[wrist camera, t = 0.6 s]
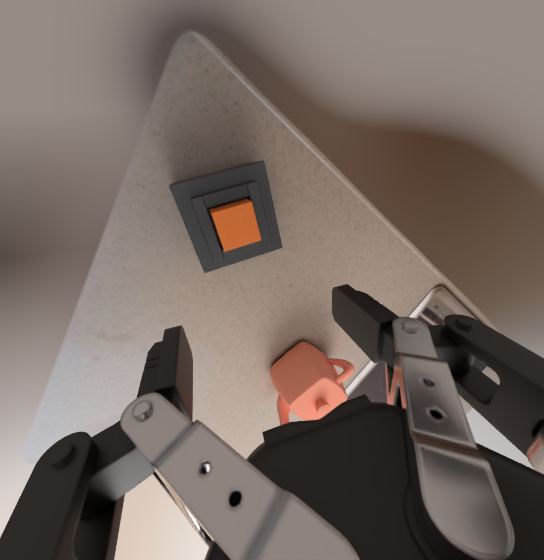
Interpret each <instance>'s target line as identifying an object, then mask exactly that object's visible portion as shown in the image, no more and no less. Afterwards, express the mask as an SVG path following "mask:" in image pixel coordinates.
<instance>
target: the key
mask: <svg viewBox="0 0 544 560" xmlns="http://www.w3.org/2000/svg"><path fill="white" fill-rule="evenodd" d="M210 211H211V214H212V217H213V220H214V223H215V226H216V229H217V232H218V235H219V238H220V241H221V243H222V246H223V249H224V251H225V252H226V251H229V250H232V249H235V248H238V247H241V246H245V245H248V244H251V243H254V242H257V241H260V240H261V236H260V232H259V228H258V224H257V220H256V216H255V212H254V208H253V205H252V202H251V201H250V200H248V199H245V200H241V201H238V202H234V203H231V204H227V205H224V206H220V207H217V208H213V209H210Z"/></svg>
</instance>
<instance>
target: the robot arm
mask: <svg viewBox="0 0 544 560" xmlns="http://www.w3.org/2000/svg"><path fill="white" fill-rule="evenodd" d="M332 314H333V317H334V320H335V321H336V322H337V323H338V325H339V326H340V327H341V328H342V329H343V330H344V331H345V332H346V333H347V334H348V335H349V336H350V338H351V339H352V340H353V341H354V342H355V343H356V344H357V345H358V346H359V347H360V348H361V349H362V350H363V352H364V353H365V354H366V355H367V356H368V357H369V358H370V359H371V360H372V361H373V362H374V363H377V362H380V361H383V360H384V361H385V362H386V367H385V371H386V387H387V403H380V402H370V400H369V399H368V398H367V396H366V395H365V394H364V395H362V396H359V397H356V398H354V399H351V400H348V401H345V402H343V403H341V404H340V405H338V406H337V407H336V408H334V409H333V410H332V411H330V412H329V413H328V414H326V415H325V416H324V417H322V418H321V419H318V420H308V421H297V422H289V423H286V424H283V425H281V426H278V427H275V428H273V429H270V430H267V431H265V432H263V437H264V442H263V443H262V444H261V445H259V446H258V447H257V448H256V449H255V450H254V451H253V452H252V453H251V454H250V456H249V457H248V458H247V460H246V459H245V458H244V457H242V456H241V455H240V454H239V453H238V452H236V451H235V450H234V449H233V448H232V447H230V446H229V445H228V444H227V443H226V442H225V441H223V440H222V439H221V438H220V437H219V436H217V435H216V434H215V433H214V432H213V431H211V430H210V429H209V428H208V427H207V426H206V425H204V424H203V423H202V422H200V421H198V420H196V421H195V422H192V411H193V358H192V352H191V349H190V346H189V343H188V340H187V337H186V334H185V332H184V329H183V327H182V325H181V326H177V327H173V328H169V329H165V331H164V336H163V341H161V342H157V343H155V344H154V345H153V346H152V348H151V349H150V350H149V352H148V355H147V359H146V363H145V367H144V371H143V375H142V379H141V383H140V387H139V391H138V395H137V399H135V400H134V401H133V402H131V403H130V404H129V405H128V406H127V408H126V409H125V410H124V412H123V413H122V416H121V419H120V421H118V422H117V423H115V424H114V425H112V426H110V427H109V428H107V429H105V430H104V431H102V432H100V433H98V434H97V435H95V436H93V437H90V435H89V434H88V433H86V432H76V433H73V434H70V435H68V436H66V437H64V438H62V439H61V440H59V441H58V442H56V443H55V444H54V445H52V446H51V447H50V448H49V449H48V450H47V451H46V452H45V453H44V454H43V455H42V457H41V458H40V459H39V461H38V462H37V464H36V465H35V467H34V469H33V471H32V474H31V476H30V478H29V480H28V482H27V484H26V486H25V488H24V490H23V492H22V494H21V496H20V498H19V500H18V502H17V505H16V507H15V509H14V511H13V513H12V515H11V517H10V519H9V521H8V523H7V525H6V527H5V530H4V532H3V534H2V536H1V538H0V560H114V557H115V551H116V545H117V539H118V533H119V526H120V520H121V514H122V508H123V501H124V496H125V493H127V492H128V491H130V490H131V489H132V488H134V487H135V486H137V485H138V484H139V483H141V482H142V481H144V480H145V479H146V478H148V477H149V476H150V475H153V476H154V477H155V478H156V480H157V481H158V482H159V483H160V485H161V486H162V487H163V489H164V490H165V491H166V492H167V494H168V495H169V496H170V497H171V499H172V500H173V501H174V502H175V504H176V505H177V506H178V508H179V509H180V510H181V512H182V513H183V514H184V516H185V517H186V519H187V520H188V521H189V523H190V524H191V525H192V527H193V528H194V529H195V531H196V532H197V533H198V534H199V536H200V537H201V538H202V540H203V541H204V542H205V544H206V545H207V546H208V548H209V550H208V552H207V555H206V557H205V560H544V358H542V357H540V356H539V355H537V354H535V353H533V352H532V351H530V350H528V349H526V348H525V347H523V346H521V345H519V344H518V343H516V342H514V341H512V340H511V339H509V338H507V337H506V336H504V335H502V334H500V333H499V332H497V331H495V330H493V329H492V328H490V327H488V326H486V325H485V324H483V323H481V322H479V321H478V320H476V319H474V318H471V317H468V316H464V315H449V316H447V317H445V319H444V323H443V325H433V326H427V325H426V324H425V323H423V322H422V321H420V320H417V319H415V318H410V317H398V316H397V315H396V314H394V313H393V312H392V311H390V310H389V309H387V308H386V307H385V306H383V305H382V304H380V303H379V302H378V301H376V300H374V298H372V297H371V296H369V295H368V294H366V293H363V292H361V291H356V290H355V289H353V288H352V287H351V286H349V285H348V284H345V285H341V286H337V287H334V288H333V290H332ZM475 357H476V358H477V359H479V360H480V361H481V362H483V363H484V364H485V365H487V366H488V367H490V368H491V369H492V370H494V371H495V372H496V373H497V375H498V377H499V379H500V384H499V385H498V384H497V383H495V382H494V381H493V380H491V379H490V378H489V377H487V376H486V375H485V374H483V373H482V372H481V371H479V370H478V369H477V368H475V367H474V366H473V365H472V364H473V361H474V358H475ZM458 394H459V395H460V396H461V397H462V398H463V399H464V400H465V401H467V402H468V403H469V404H470V405H471V406H472V407H473V408H474V409H475V410H476V411H477V412H479V413H480V414H481V415H482V416H483V417H484V418H485V419H486V420H488V422H489V423H491V424H492V425H493V426H494V427H495V428H496V429H497V430H498V431H499V432H500V433H501V434H503V435H504V436H505V437H506V438H507V439H508V440H509V441H510V442H511V443H512V444H514V445H515V446H516V447H517V448H518V449H519V450H520V451H521V452H522V453H523V454H524V455H525V456H527V458H528V460H529V462H530V464H531V465H532V467H533V468H534V469H535V470H533V469H531V468H529V467H527V466H525V465H523V464H521V463H518V462H516V461H514V460H512V459H510V458H508V457H506V456H503V455H501V454H499V453H497V452H495V451H493V450H490V449H488V448H486V447H484V446H482V445H480V444H477V443H476V442H475V440H474V438H473V434H472V432H471V429H470V426H469V423H468V420H467V417H466V414H465V412H464V409H463V406H462V403H461V400H460V397H459V395H458Z"/></svg>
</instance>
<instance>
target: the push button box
mask: <svg viewBox="0 0 544 560" xmlns="http://www.w3.org/2000/svg"><path fill="white" fill-rule="evenodd" d="M169 186H170V189H171V191H172V194H173V196H174V199H175V201H176V204H177V206H178V209H179V211H180V214H181V216H182V218H183V221H184V223H185V226H186V228H187V231H188V233H189V236H190V238H191V241H192V243H193V245H194V248H195V250H196V253H197V255H198V258H199V260H200V263H201V265H202V268H203V270H204V272H205V273H206V272H209V271H212V270H215V269H219V268H222V267H225V266H228V265H231V264H234V263H237V262H240V261H243V260H246V259H249V258H252V257H255V256H258V255H261V254H264V253H268V252H271V251H274V250H277V249H280V248H282V244H281V239H280V234H279V230H278V225H277V220H276V216H275V211H274V206H273V202H272V197H271V192H270V188H269V183H268V178H267V174H266V169H265V164H264V161H259V162H252V163H248V164H245V165H241V166H237V167H233V168H229V169H225V170H222V171H218V172H214V173H210V174H206V175H202V176H198V177H195V178H191V179H187V180H183V181H179V182H175V183H173V184H171V185H169ZM245 199H248V200H250V201H251V202H252V205H253V208H254V212H255V216H256V220H257V224H258V228H259V232H260V236H261V240H260V241H257V242H254V243H251V244H248V245H245V246H241V247H238V248H235V249H232V250H229V251H226V252H225V251H224V249H223V246H222V243H221V241H220V238H219V235H218V232H217V229H216V226H215V223H214V220H213V217H212V214H211V211H210V209H213V208H217V207H220V206H224V205H227V204H231V203H234V202H238V201H241V200H245Z"/></svg>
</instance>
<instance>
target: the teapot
mask: <svg viewBox="0 0 544 560" xmlns="http://www.w3.org/2000/svg"><path fill="white" fill-rule="evenodd" d="M332 364H333V365H336V366H339V367H341V368H343V369H344V371H343V372H342V373H341V374H340V375H338V373H337V372H336V370H335V368H334V366H333V365H332ZM353 372H354V366H353V365H352V364H351V363H350V362H348V361H346V360H342V359H333V358H327V357H326V356H325V355H324V354H323V353H322V352H321V351H320V350H318V349H317V348H315V347H314V346H312V345H311V344H309V343H307V342H300V343H299V344H297V345H296V346H295V347H293V348H292V349H291V350H290V351H288V352H287V353H286V354H285V355H284V356H283V357H281V358H280V359H279V360H278V361H277V362H276V363H275V364H274V365H273V366H272V367H271V379H272V381H273V383H274V385H275V387H276V389H277V391H278V393H279V396H278V399H277V409H278V414H279V419H280V426H281V425H283V424H286V423H289V411H290V409H291V410H292V411H293V412H294V413H295V414H296V415H297V416H299V417H300V418H302V419H304V420H306V421H308V420H318V419H321V418H322V417H324V416H325V415H326V414H328V413H329V412H330V411H332V410H333V409H334V408H336V407H337V406H338V405H340V404H341V403H343V402H345V401H346V400H347V394H346V391H345V389H344V386H343V384H342V382H343V381H345V380H346V379H347V378H349V377H350V376H351V375H352V374H353Z"/></svg>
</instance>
